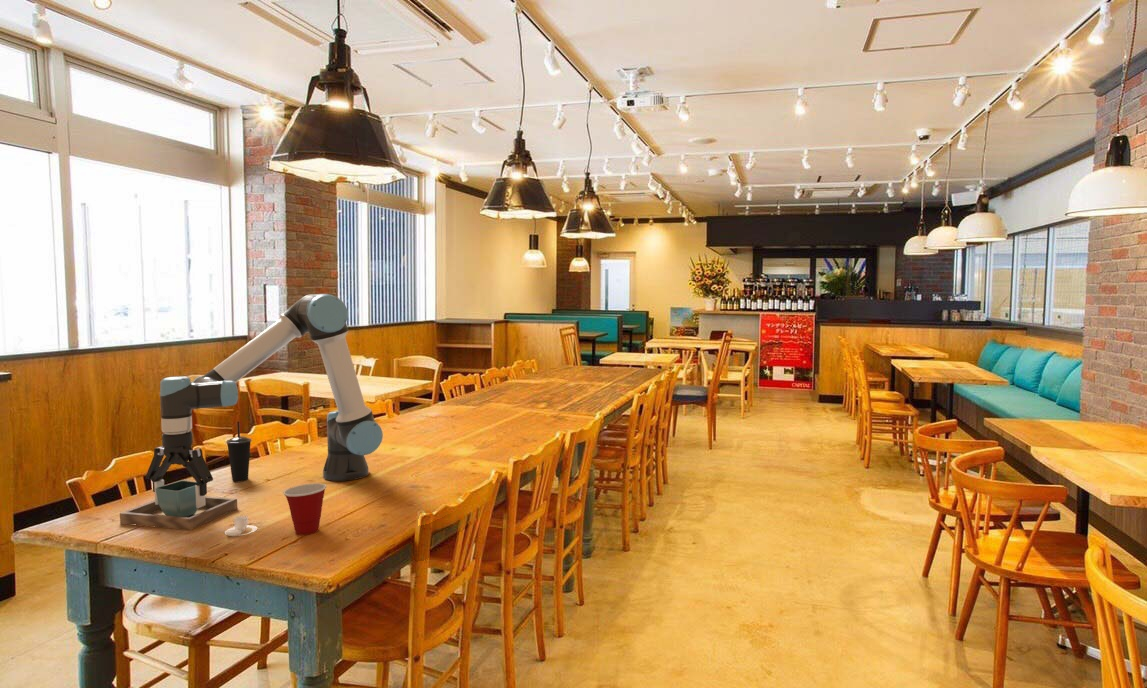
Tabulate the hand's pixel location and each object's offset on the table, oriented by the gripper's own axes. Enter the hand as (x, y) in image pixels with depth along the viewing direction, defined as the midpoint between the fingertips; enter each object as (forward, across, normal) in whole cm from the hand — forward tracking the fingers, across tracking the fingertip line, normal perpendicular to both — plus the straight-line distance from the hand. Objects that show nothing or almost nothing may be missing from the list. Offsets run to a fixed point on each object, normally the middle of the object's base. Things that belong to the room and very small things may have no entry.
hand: (180, 505), depth 193 cm
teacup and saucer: (+4, -22, +8) cm, 24 cm away
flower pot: (+3, 0, 0) cm, 3 cm away
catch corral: (+3, 0, 0) cm, 3 cm away
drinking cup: (+3, +9, -36) cm, 37 cm away
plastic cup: (+3, -42, +3) cm, 42 cm away
